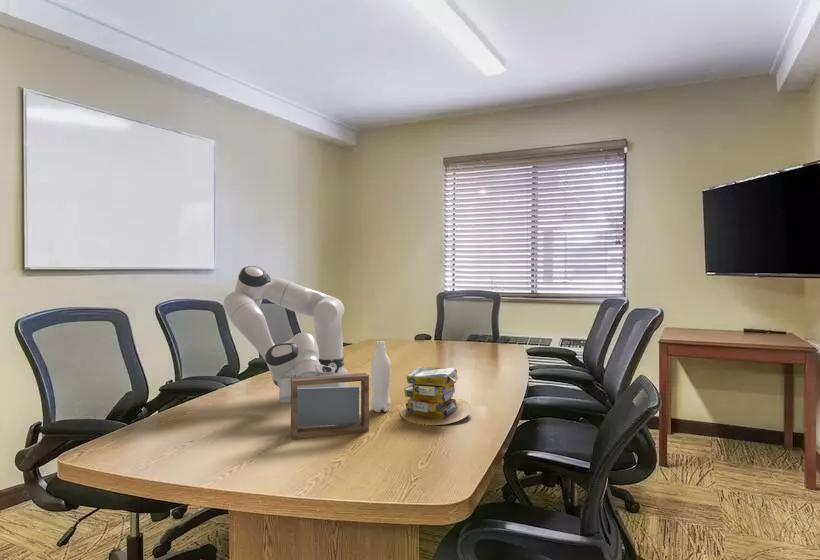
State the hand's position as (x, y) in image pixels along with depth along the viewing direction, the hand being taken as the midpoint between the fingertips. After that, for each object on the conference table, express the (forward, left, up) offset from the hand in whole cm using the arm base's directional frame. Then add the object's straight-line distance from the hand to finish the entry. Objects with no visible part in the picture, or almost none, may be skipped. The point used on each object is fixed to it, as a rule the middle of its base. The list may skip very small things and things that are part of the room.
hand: (312, 410), depth 162 cm
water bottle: (-11, +26, -5) cm, 29 cm away
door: (+3, +5, -4) cm, 7 cm away
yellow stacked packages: (+1, +43, -5) cm, 43 cm away
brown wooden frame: (+8, +4, -5) cm, 10 cm away
